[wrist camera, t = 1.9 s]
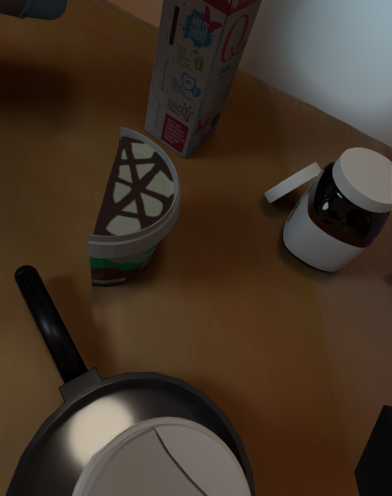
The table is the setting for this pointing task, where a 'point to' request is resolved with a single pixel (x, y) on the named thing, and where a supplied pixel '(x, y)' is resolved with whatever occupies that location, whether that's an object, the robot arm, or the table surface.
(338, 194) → the spread jar
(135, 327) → the table surface
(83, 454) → the pan
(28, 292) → the pan handle
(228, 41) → the juice carton
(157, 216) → the food container
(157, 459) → the paper cup
